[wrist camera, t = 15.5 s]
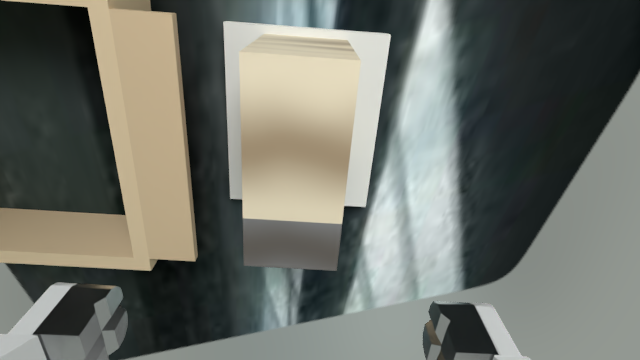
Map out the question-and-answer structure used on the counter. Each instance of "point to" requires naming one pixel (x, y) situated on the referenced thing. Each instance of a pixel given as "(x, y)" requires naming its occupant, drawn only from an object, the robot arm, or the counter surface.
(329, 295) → the counter surface
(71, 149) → the counter surface
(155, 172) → the carton
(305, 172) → the block
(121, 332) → the robot arm
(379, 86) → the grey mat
